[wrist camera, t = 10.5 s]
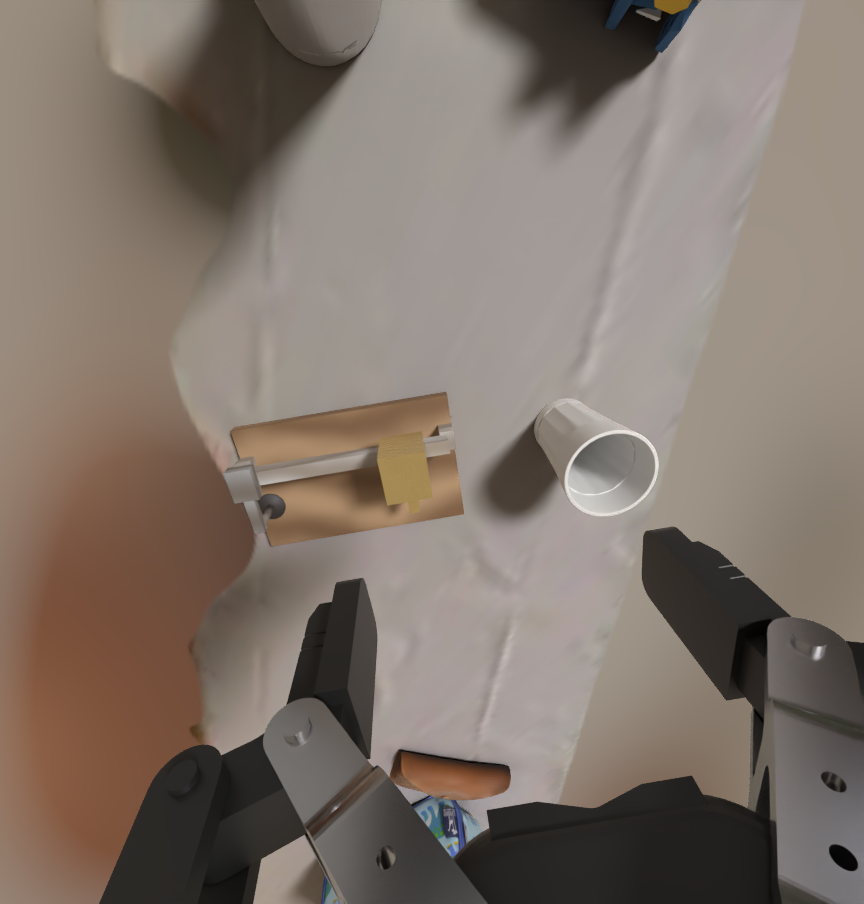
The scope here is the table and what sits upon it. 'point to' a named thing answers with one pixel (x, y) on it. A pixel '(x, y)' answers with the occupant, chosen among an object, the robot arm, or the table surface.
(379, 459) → the sliding block
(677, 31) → the blue piece
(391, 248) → the table surface
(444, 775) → the sunglasses case
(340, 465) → the board
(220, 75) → the table surface
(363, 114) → the table surface
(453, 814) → the lunch box
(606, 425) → the cup
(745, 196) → the table surface
